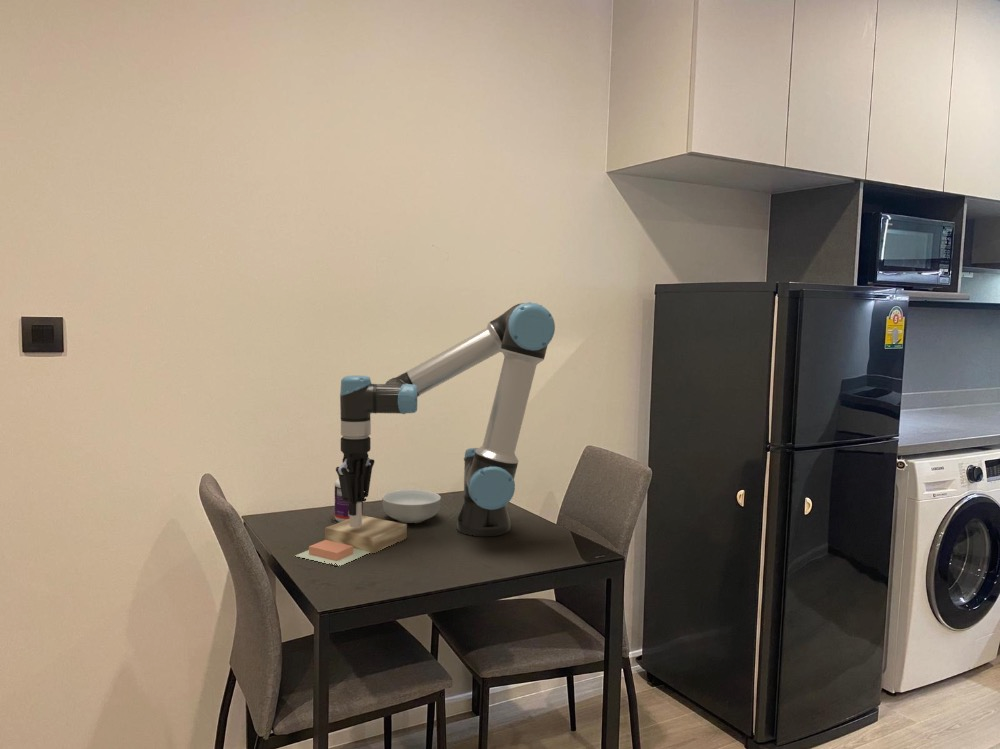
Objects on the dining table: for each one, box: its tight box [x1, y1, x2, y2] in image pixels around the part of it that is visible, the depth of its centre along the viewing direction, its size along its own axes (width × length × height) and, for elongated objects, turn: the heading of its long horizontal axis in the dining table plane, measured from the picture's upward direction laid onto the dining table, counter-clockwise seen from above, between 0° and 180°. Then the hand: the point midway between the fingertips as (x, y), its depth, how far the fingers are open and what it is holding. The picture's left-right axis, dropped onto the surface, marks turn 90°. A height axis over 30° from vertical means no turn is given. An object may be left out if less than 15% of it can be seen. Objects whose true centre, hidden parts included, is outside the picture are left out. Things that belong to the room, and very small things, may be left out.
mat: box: [294, 548, 372, 566], centre depth 180 cm, size 14×12×1 cm
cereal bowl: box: [381, 488, 442, 524], centre depth 211 cm, size 17×17×7 cm
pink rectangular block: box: [308, 539, 353, 561], centre depth 180 cm, size 9×6×2 cm, turn 61°
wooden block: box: [324, 514, 408, 554], centre depth 191 cm, size 16×14×4 cm
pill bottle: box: [334, 478, 364, 523], centre depth 209 cm, size 8×8×14 cm
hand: (355, 526), depth 187 cm, fingers closed
